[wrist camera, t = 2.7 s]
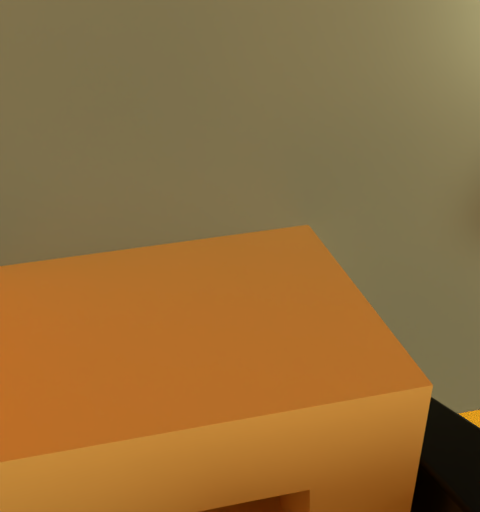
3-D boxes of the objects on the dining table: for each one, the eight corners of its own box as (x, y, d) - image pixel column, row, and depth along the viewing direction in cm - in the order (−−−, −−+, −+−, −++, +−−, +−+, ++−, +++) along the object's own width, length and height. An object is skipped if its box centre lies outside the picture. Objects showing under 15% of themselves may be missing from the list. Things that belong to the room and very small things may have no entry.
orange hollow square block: (309, 432, 10) (386, 645, 6) (78, 474, 9) (22, 732, 6) (308, 224, 7) (433, 384, 4) (-6, 266, 7) (-190, 495, 3)
